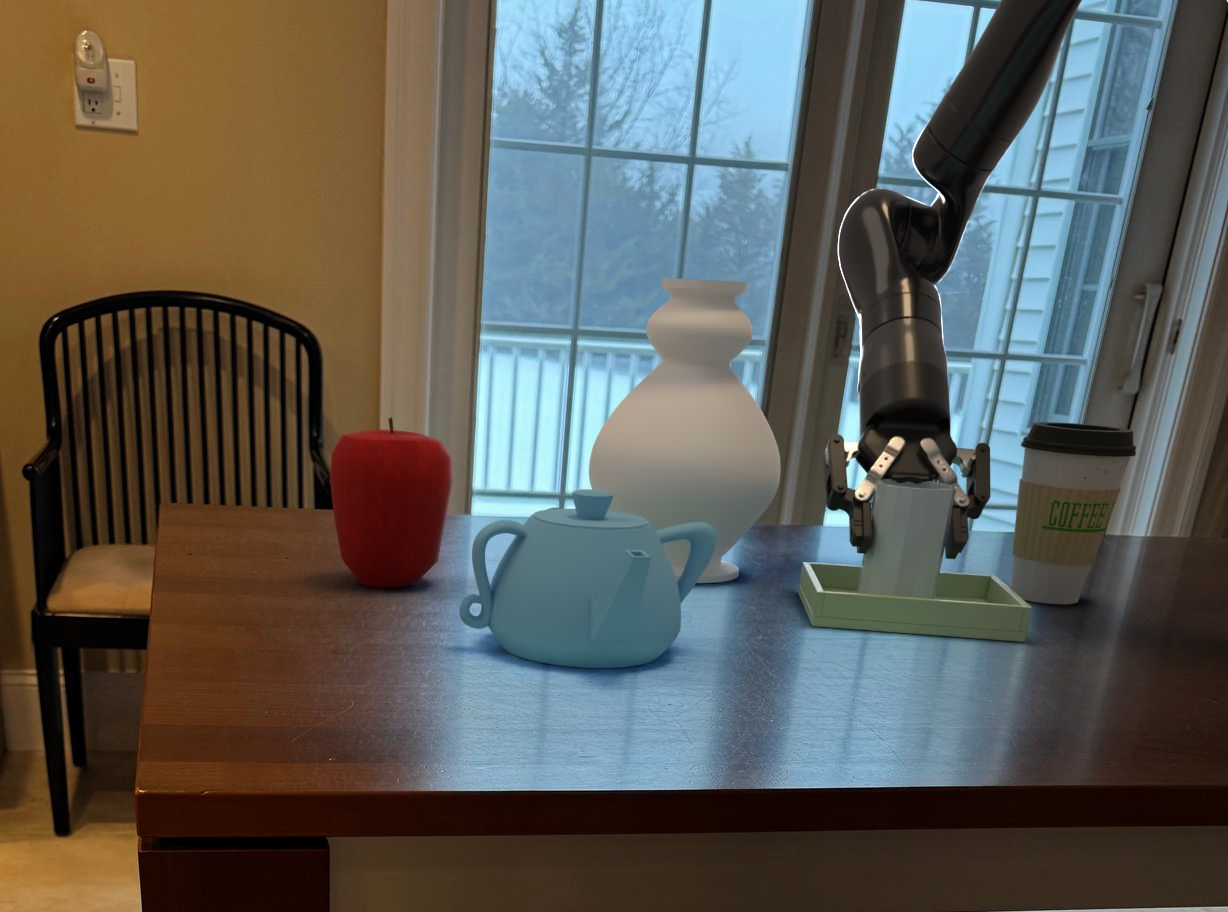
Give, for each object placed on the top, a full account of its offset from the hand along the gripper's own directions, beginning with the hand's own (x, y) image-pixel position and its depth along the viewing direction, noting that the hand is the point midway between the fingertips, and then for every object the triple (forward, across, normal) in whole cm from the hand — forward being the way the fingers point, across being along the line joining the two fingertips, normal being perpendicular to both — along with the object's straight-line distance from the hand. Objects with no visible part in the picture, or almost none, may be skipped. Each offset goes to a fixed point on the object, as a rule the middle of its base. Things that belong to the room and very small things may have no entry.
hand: (909, 550), depth 117 cm
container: (+2, 0, +5) cm, 5 cm away
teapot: (+16, -28, -8) cm, 33 cm away
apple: (+2, -44, +6) cm, 45 cm away
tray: (+3, +1, +5) cm, 6 cm away
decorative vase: (-8, -18, +16) cm, 25 cm away
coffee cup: (-6, +17, +14) cm, 23 cm away
